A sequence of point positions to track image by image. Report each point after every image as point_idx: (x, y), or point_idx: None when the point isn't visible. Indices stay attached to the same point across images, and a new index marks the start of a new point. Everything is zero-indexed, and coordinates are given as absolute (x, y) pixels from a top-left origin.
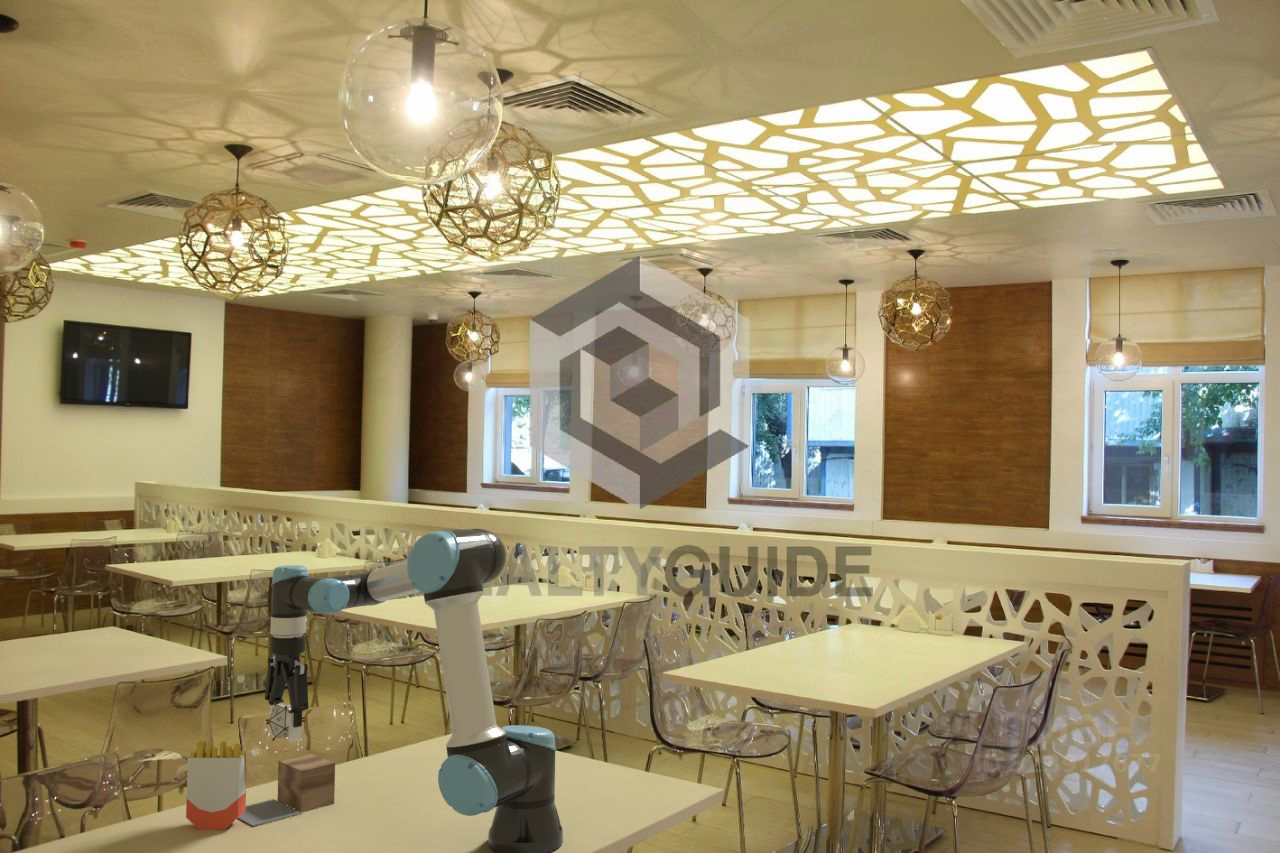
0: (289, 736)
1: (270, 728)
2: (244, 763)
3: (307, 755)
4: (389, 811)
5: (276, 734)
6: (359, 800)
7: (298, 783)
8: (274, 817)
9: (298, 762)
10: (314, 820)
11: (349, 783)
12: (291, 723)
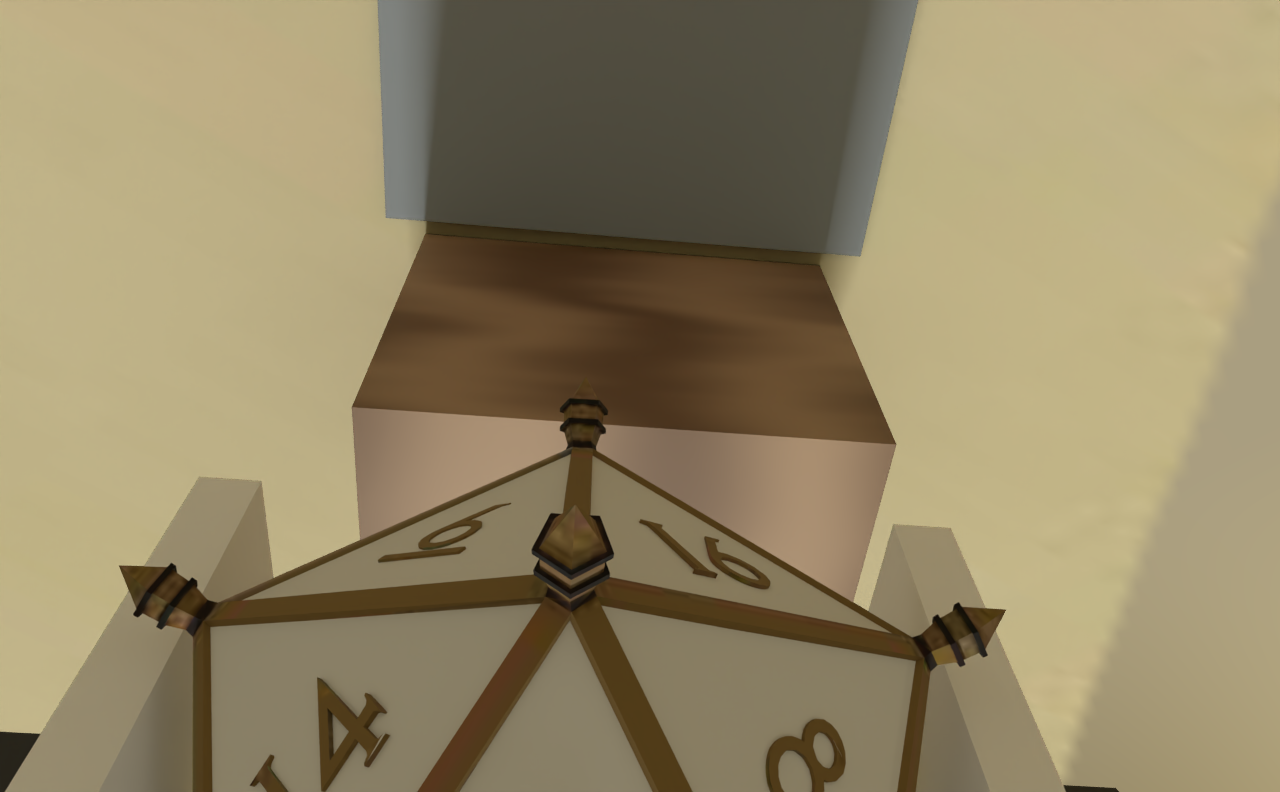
0: (174, 547)
1: (949, 603)
2: None
3: None
4: (29, 584)
5: (513, 486)
6: None
7: (456, 340)
8: (435, 4)
9: None
10: (175, 194)
11: None
12: (35, 775)
